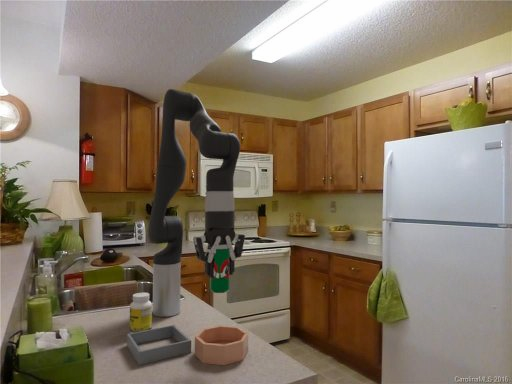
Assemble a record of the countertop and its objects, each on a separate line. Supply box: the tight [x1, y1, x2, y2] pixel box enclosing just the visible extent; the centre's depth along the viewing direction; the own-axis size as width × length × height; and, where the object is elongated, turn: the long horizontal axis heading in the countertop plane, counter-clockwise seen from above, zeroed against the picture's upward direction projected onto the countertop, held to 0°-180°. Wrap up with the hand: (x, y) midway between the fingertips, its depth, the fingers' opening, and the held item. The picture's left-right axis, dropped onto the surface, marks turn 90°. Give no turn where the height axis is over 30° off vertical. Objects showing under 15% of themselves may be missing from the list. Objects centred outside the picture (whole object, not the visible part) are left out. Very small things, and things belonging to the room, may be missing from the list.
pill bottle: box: [129, 292, 153, 334], centre depth 102 cm, size 6×6×11 cm
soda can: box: [209, 244, 231, 294], centre depth 89 cm, size 5×5×12 cm
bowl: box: [194, 325, 249, 366], centre depth 89 cm, size 13×13×4 cm
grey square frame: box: [126, 324, 192, 366], centre depth 91 cm, size 13×13×3 cm
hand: (219, 275), depth 89 cm, fingers closed on soda can, 5 cm apart
